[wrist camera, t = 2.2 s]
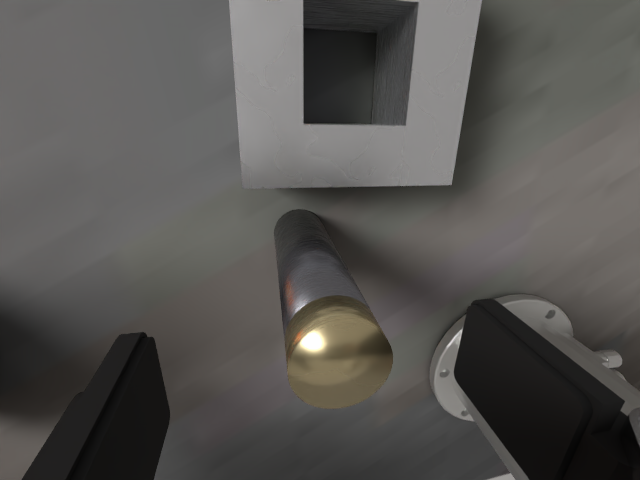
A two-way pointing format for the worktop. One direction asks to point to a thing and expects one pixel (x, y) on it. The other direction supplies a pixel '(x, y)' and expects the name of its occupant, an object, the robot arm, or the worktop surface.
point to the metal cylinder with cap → (325, 319)
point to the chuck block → (388, 93)
